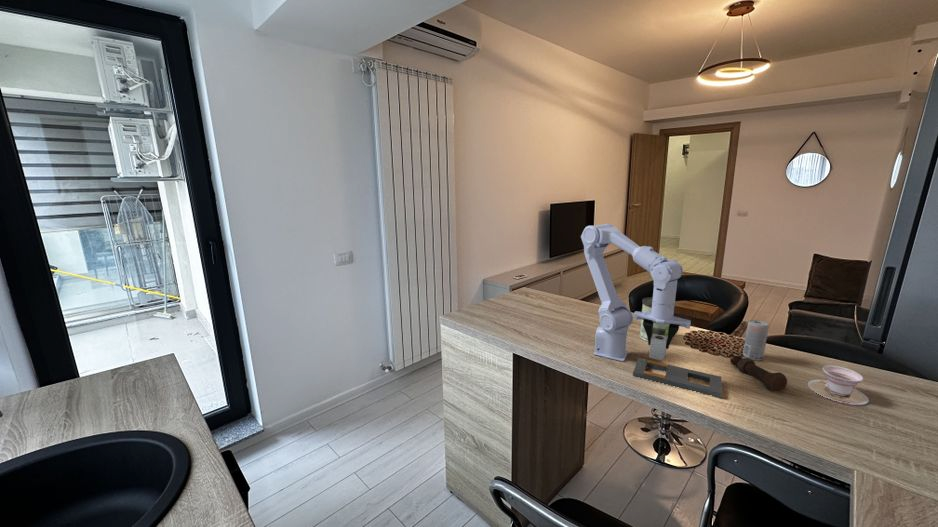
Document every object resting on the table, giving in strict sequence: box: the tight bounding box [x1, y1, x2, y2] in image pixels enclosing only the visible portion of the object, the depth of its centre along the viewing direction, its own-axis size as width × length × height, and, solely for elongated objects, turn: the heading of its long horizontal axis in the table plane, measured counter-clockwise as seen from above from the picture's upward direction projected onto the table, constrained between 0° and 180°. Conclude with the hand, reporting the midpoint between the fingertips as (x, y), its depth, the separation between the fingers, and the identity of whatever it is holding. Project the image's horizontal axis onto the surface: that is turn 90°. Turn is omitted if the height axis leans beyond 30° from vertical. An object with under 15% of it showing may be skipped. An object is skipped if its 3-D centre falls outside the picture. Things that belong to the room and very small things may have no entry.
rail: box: [632, 357, 723, 399], centre depth 109 cm, size 22×10×2 cm, turn 57°
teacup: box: [807, 364, 870, 406], centre depth 100 cm, size 12×12×6 cm
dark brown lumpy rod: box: [730, 355, 788, 393], centre depth 109 cm, size 6×5×15 cm
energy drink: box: [742, 319, 770, 362], centre depth 120 cm, size 5×5×12 cm
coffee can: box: [639, 296, 669, 343], centre depth 135 cm, size 10×10×14 cm
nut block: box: [648, 334, 668, 361], centre depth 110 cm, size 4×4×6 cm
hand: (658, 345), depth 110 cm, fingers closed on nut block, 4 cm apart
